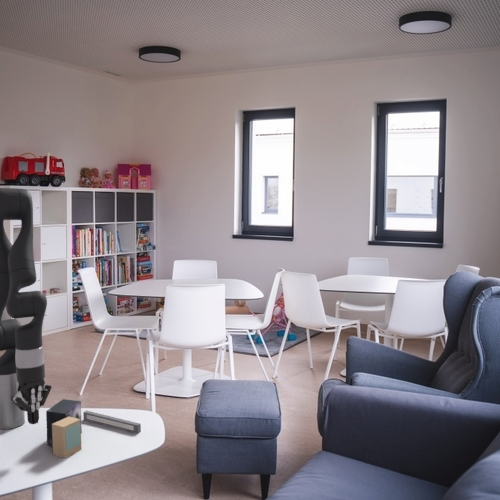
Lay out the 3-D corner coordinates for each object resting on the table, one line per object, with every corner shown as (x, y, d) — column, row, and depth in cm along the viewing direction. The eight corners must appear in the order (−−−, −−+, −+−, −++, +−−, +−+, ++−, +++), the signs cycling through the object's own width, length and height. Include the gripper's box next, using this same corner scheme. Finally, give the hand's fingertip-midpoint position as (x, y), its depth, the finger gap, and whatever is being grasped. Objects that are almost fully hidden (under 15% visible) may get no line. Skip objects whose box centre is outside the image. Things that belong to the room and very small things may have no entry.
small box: (66, 447, 190) (65, 412, 189) (46, 445, 192) (44, 411, 190) (83, 433, 201) (82, 400, 199) (63, 431, 202) (62, 398, 201)
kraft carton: (53, 454, 186) (51, 424, 185) (70, 446, 191) (68, 416, 190) (65, 458, 184) (63, 427, 182) (81, 449, 189) (80, 419, 188)
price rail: (83, 419, 211) (83, 412, 211) (86, 418, 212) (86, 410, 212) (137, 433, 200) (137, 425, 200) (140, 431, 202) (140, 423, 201)
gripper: (38, 355, 190) (41, 413, 192) (1, 367, 179) (5, 429, 181) (57, 358, 186) (60, 417, 188) (20, 371, 175) (24, 433, 177)
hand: (33, 423), depth 185 cm, fingers closed
